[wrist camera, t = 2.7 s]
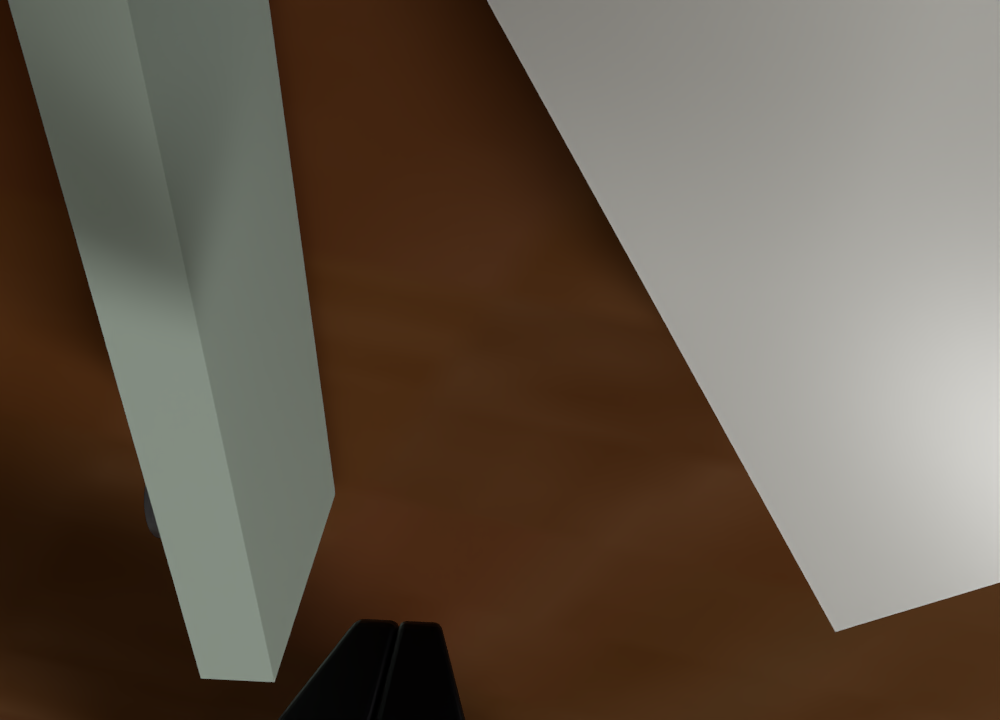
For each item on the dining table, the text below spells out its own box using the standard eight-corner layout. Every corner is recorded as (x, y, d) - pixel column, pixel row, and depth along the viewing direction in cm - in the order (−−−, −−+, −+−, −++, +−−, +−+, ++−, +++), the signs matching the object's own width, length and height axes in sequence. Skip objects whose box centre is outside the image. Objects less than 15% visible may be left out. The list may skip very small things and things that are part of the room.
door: (227, 489, 18) (140, 674, 15) (-25, -660, 10) (-411, -939, 6) (335, 493, 18) (274, 682, 14) (179, -665, 9) (-80, -957, 6)
